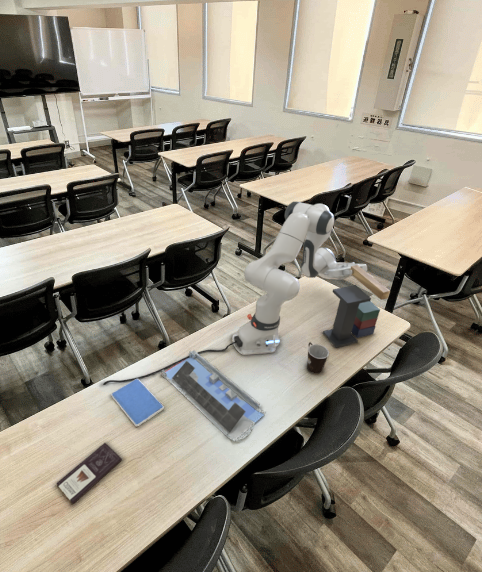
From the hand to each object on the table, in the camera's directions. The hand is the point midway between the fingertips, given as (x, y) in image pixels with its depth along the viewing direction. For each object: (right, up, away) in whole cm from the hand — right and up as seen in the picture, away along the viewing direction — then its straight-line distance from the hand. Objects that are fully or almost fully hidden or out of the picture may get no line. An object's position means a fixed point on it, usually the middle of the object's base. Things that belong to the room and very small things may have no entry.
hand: (357, 271), depth 171 cm
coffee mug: (-24, -42, -14) cm, 50 cm away
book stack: (+2, -27, +8) cm, 29 cm away
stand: (-8, -32, +1) cm, 33 cm away
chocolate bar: (-107, -67, -55) cm, 138 cm away
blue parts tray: (-68, -50, -28) cm, 89 cm away
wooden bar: (+3, -7, -5) cm, 9 cm away
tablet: (-97, -52, -32) cm, 115 cm away
